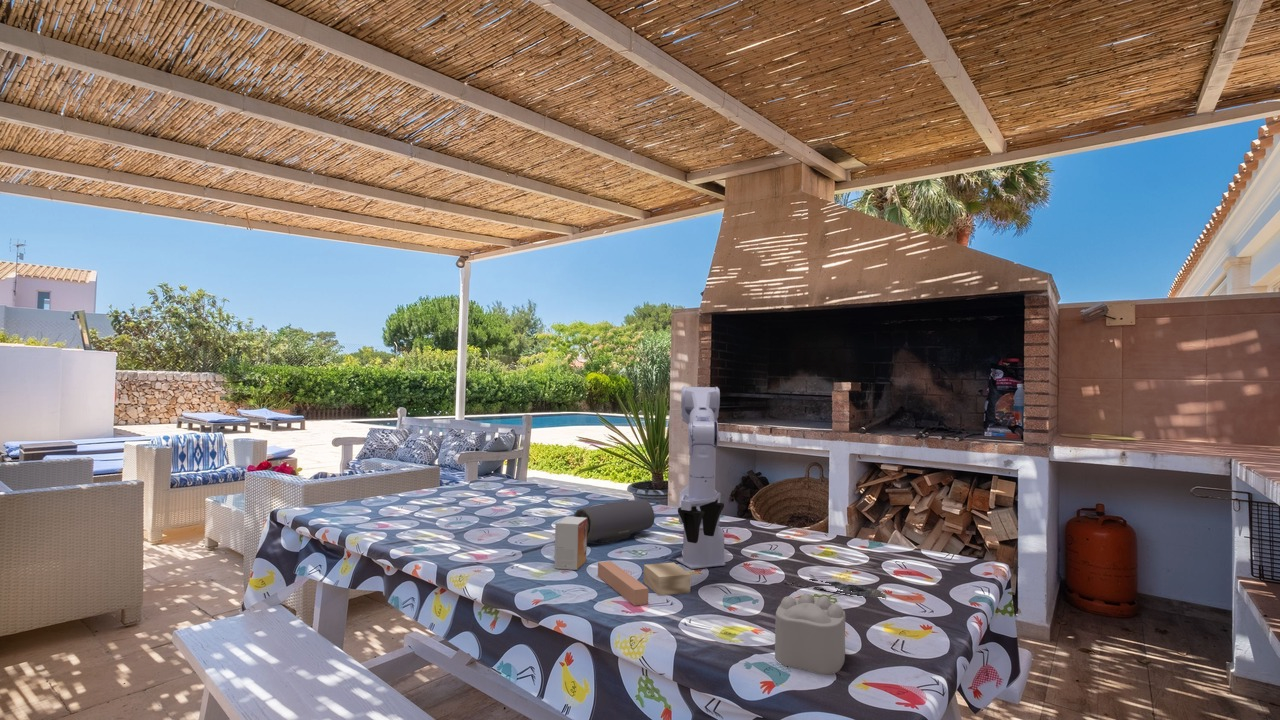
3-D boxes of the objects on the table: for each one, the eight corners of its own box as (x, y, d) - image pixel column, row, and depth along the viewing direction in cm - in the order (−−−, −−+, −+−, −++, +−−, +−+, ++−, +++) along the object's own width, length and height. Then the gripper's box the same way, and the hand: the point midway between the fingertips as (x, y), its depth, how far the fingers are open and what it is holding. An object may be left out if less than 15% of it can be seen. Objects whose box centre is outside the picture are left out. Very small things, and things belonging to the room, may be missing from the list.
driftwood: (889, 597, 133) (889, 587, 133) (883, 606, 128) (883, 595, 128) (793, 580, 144) (793, 570, 144) (783, 588, 138) (783, 578, 139)
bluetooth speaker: (633, 530, 186) (634, 495, 186) (655, 536, 179) (656, 500, 179) (570, 541, 170) (571, 504, 171) (591, 549, 163) (593, 510, 164)
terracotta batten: (610, 574, 142) (610, 561, 142) (648, 603, 124) (648, 588, 124) (597, 575, 141) (598, 562, 141) (634, 605, 122) (634, 590, 122)
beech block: (673, 580, 140) (673, 562, 140) (690, 593, 131) (690, 574, 131) (643, 583, 137) (644, 564, 137) (658, 596, 129) (659, 577, 129)
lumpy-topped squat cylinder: (769, 663, 99) (770, 606, 99) (787, 634, 110) (788, 584, 111) (838, 678, 94) (839, 619, 95) (850, 646, 106) (850, 593, 106)
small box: (577, 571, 144) (578, 524, 144) (553, 569, 145) (554, 522, 145) (587, 561, 152) (588, 517, 152) (564, 559, 153) (565, 515, 153)
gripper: (701, 470, 147) (700, 530, 146) (669, 477, 135) (667, 542, 134) (729, 473, 143) (728, 534, 142) (698, 481, 131) (697, 547, 130)
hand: (700, 538), depth 138 cm, fingers open, 7 cm apart
